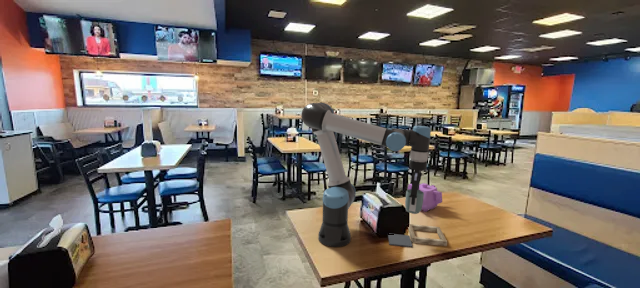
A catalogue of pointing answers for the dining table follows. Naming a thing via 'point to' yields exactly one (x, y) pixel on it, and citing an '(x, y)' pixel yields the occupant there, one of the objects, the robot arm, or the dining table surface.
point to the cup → (418, 204)
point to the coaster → (400, 240)
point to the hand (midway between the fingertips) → (413, 207)
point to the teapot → (429, 196)
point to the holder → (440, 242)
